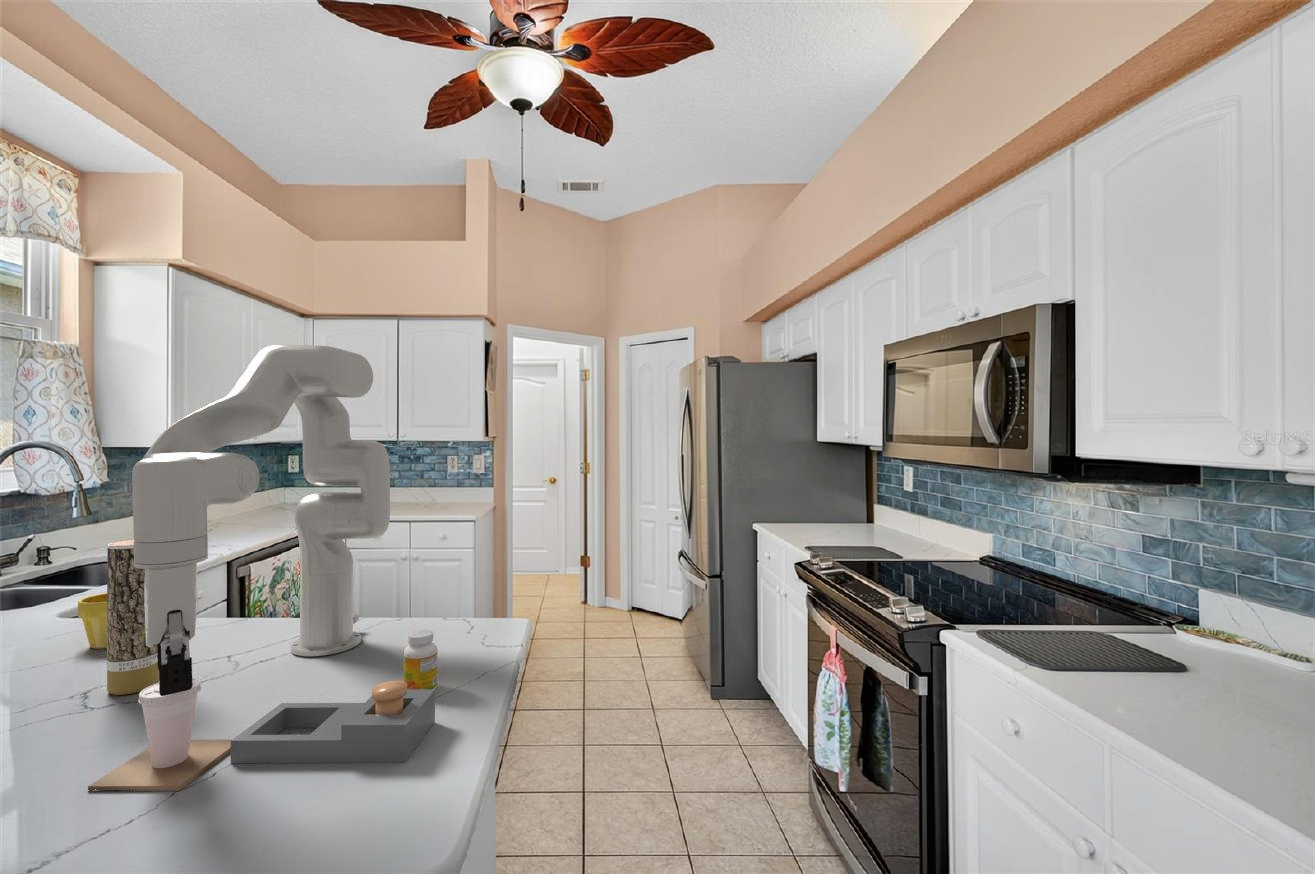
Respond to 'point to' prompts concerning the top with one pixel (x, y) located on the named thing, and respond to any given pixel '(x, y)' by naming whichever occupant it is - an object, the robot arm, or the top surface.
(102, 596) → the plant pot
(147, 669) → the bark pattern canister
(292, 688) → the top surface
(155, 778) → the mat
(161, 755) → the smoothie
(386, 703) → the tan mushroom
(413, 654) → the supplement bottle
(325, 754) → the grey holder
